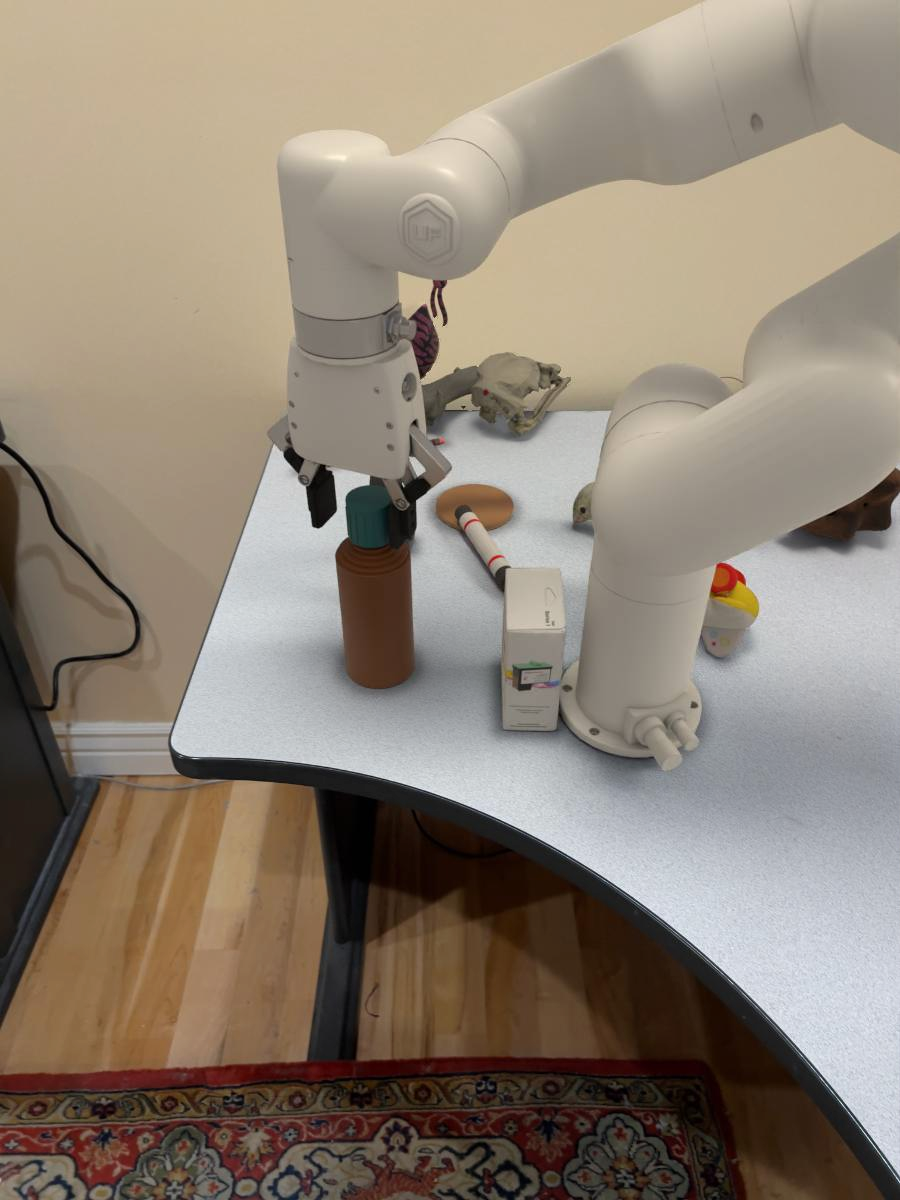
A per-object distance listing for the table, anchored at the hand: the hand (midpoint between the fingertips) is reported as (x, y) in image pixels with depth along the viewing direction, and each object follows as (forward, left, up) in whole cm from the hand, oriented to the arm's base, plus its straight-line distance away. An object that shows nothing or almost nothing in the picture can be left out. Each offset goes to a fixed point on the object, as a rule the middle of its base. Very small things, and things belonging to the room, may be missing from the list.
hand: (362, 528), depth 78 cm
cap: (-1, -1, 0) cm, 1 cm away
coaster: (+21, -18, -15) cm, 32 cm away
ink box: (-9, -12, -16) cm, 22 cm away
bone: (+48, -23, -8) cm, 54 cm away
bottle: (-1, -1, -15) cm, 15 cm away
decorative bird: (+9, -33, -15) cm, 38 cm away
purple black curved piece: (+41, -12, -4) cm, 43 cm away
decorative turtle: (-1, -54, -10) cm, 55 cm away
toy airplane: (-10, -34, -12) cm, 38 cm away
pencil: (+36, -10, -14) cm, 40 cm away
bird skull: (+43, -35, -16) cm, 58 cm away
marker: (+11, -16, -15) cm, 25 cm away
